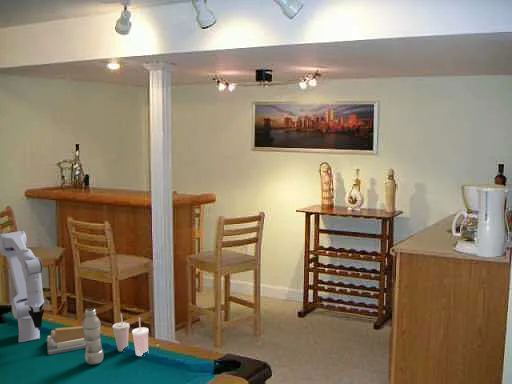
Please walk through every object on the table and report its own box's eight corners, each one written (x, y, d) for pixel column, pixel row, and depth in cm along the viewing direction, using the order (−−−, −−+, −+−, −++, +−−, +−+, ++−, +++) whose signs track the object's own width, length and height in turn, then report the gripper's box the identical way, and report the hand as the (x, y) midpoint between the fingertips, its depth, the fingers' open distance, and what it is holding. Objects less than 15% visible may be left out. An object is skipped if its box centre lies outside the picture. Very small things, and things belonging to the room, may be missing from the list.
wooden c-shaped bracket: (50, 336, 225) (51, 323, 225) (81, 333, 231) (82, 321, 231) (55, 343, 218) (56, 330, 218) (87, 340, 225) (87, 327, 224)
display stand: (46, 341, 228) (46, 333, 227) (91, 333, 234) (90, 325, 234) (48, 355, 215) (47, 346, 214) (94, 346, 221) (94, 338, 221)
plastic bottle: (87, 368, 202) (82, 314, 199) (84, 361, 208) (79, 308, 205) (106, 364, 205) (101, 310, 202) (101, 357, 211) (97, 305, 208)
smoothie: (127, 353, 213) (124, 317, 211) (111, 352, 215) (108, 317, 213) (134, 346, 220) (131, 311, 218) (118, 345, 221) (115, 310, 219)
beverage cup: (138, 358, 209) (136, 321, 207) (130, 353, 213) (127, 317, 211) (153, 353, 213) (150, 317, 210) (145, 348, 217) (142, 313, 215)
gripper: (23, 286, 223) (26, 319, 225) (23, 297, 210) (26, 332, 212) (42, 283, 226) (45, 316, 228) (43, 294, 212) (47, 329, 214)
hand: (38, 324), depth 220 cm, fingers open, 7 cm apart
